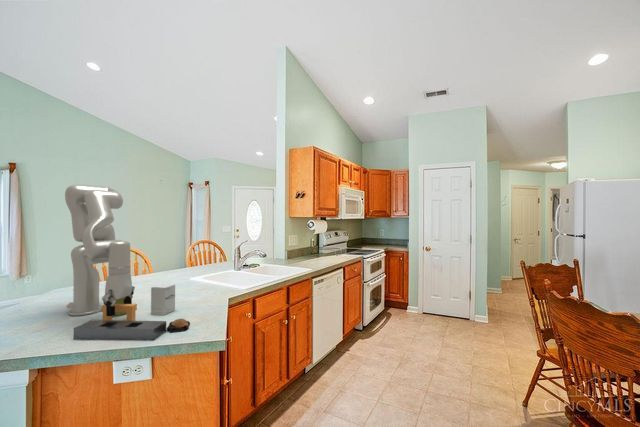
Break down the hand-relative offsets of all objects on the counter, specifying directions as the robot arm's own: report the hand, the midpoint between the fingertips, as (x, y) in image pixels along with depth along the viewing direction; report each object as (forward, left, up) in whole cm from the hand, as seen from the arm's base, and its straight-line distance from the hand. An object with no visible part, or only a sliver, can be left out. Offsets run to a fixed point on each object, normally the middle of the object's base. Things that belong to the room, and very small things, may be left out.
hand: (119, 311), depth 120 cm
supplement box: (+10, +15, -5) cm, 19 cm away
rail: (+9, -11, -5) cm, 15 cm away
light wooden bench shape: (0, 0, -5) cm, 5 cm away
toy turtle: (+27, -3, -6) cm, 27 cm away
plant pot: (-9, +13, -5) cm, 17 cm away
